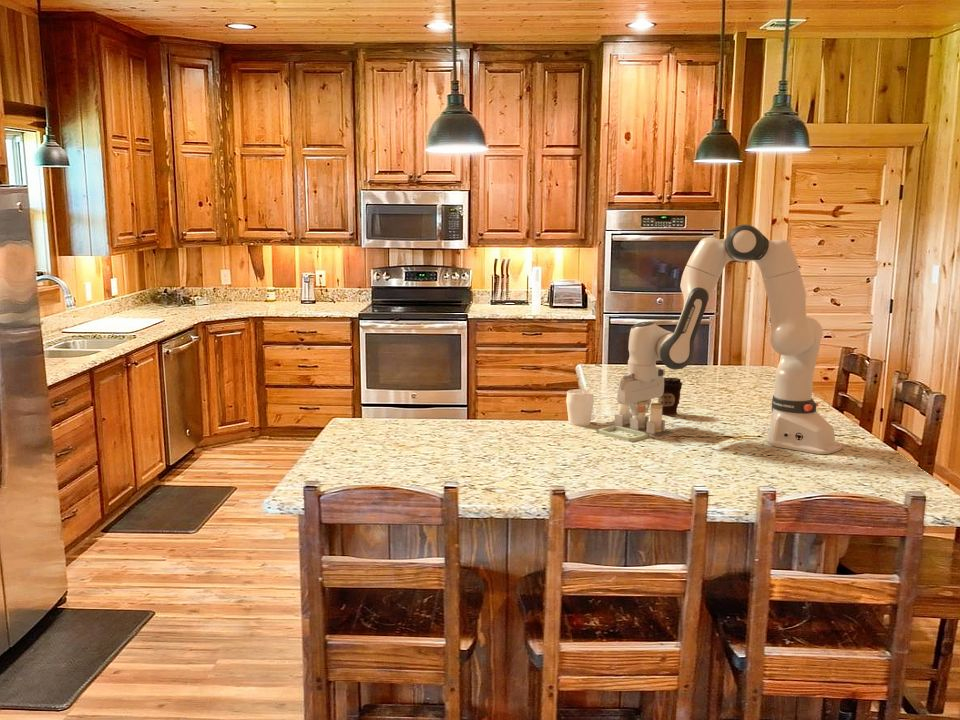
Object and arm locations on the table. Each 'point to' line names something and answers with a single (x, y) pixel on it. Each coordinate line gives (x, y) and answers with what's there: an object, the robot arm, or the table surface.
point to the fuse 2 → (656, 416)
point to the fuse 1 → (624, 413)
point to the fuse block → (635, 425)
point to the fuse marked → (641, 414)
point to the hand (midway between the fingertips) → (639, 414)
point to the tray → (631, 439)
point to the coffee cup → (670, 396)
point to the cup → (579, 406)
